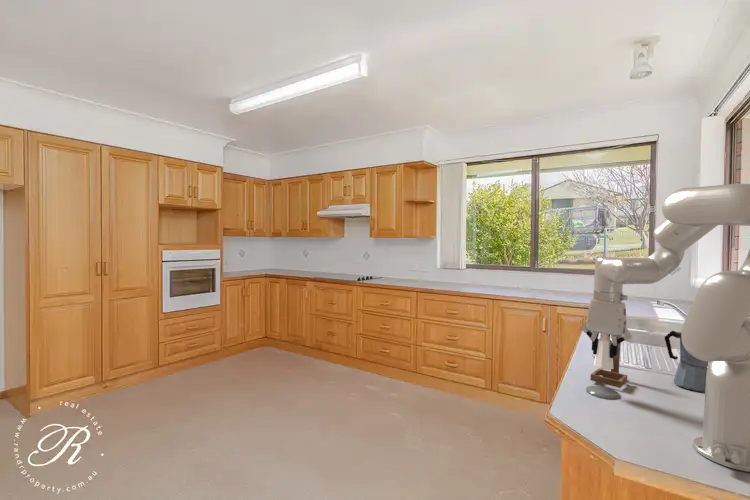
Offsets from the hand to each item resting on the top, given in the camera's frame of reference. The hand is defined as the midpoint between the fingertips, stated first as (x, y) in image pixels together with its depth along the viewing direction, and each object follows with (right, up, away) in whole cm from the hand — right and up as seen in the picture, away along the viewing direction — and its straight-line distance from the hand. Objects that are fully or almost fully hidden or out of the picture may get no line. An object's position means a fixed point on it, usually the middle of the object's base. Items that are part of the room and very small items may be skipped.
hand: (604, 354), depth 119 cm
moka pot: (+33, -13, +7) cm, 36 cm away
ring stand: (+8, -12, +10) cm, 18 cm away
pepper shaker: (0, -4, 0) cm, 4 cm away
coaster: (0, -12, 0) cm, 12 cm away
